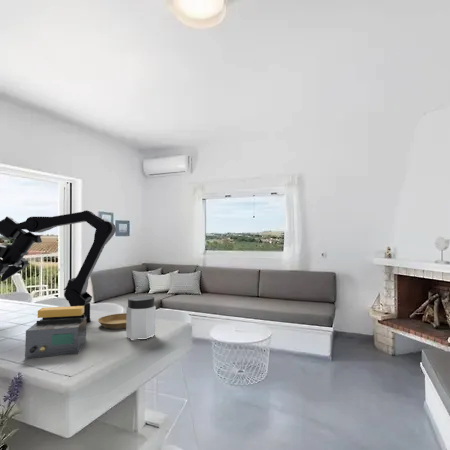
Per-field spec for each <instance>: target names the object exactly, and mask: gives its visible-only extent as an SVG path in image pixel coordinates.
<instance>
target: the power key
mask: <svg viewBox="0 0 450 450" xmlns="http://www.w3.org/2000/svg"><path fill="white" fill-rule="evenodd" d="M83 313H84V306H70V305H69V306H55V307H54V306H53V307H51V306H50V307H41V308H40V309H38V310H37V319H42V318H46V317H64V316H82V314H83Z"/></svg>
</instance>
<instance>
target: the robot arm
mask: <svg viewBox="0 0 450 450" xmlns="http://www.w3.org/2000/svg"><path fill="white" fill-rule="evenodd" d="M85 222H86V223H87V224H88V225H90V226H91V227H92V228H94V229H95V232H94V235H93V242H92V245H91V247H90V248H89V251H88V253H87V255H86V256H85V259H84V261H83V263H82V265H81V267H80V269H79V271H78V273H77V274H76V276H75V277H73V278H70V279H68V281H67V284H66V287H65V288H64V289H63V291H64V293H63V295H64V298H65V300H66V301H67V302H68V304H69V306H84V313H83V314H85V317H86V323H91V321H92V320H91V304H90V303H91V302H92V299H93V296H92V295H91V294H90V293H89V292H87V291H88V286H89V279H90V277H91V275H92V274H93V272H94V271H93V270H94V269H95V266H96V265H97V263H98V261H99V258H100V257H101V254H102V252H103V250H104V248H105V246H106V245H107V244H108V243H109V242H110V240H111V239H112V238H113V236H114V235H115V234H116V233H117V232H116V231H117V228H116V225H115V224H114V223H113V222H111V221H107V220H104V219H103V218H101V217H99V215H96V214H95V213H94V212H92V211H89V210H83V211H79V212H78V211H77V212H72V213H67V214H60V215H54V216H29V217H27V219H26V220H24V221H22V222H18V221H16V220H14V218H12V217H11V216H6V217H4V218H3V219H1V220H0V235H1V236H2V237H4V238H6V239H7V240H13V241H12V243H11V244H7V245H3V244H0V282H4V281H6V280H7V279H9V278H11V277H12V276H14V275H16V274H17V273H19V272H21V271H23V270H24V269H26V268H27V267H28V266H29V261H28V260H27V259H25V258H24V257H25V256H28V254H29V252H28V251H29V250H30V248H31V247H32V246H33V244H34V243H37V244H38V243H40V244H41V243H42V242H43V241H42V238H41V235H40V234H37V235H36V234H34V233H45V232H47V231H50V230H52V229H54V228H57V227H62V226H67V225H74V224H80V223H85Z"/></svg>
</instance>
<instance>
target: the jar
mask: <svg viewBox="0 0 450 450" xmlns="http://www.w3.org/2000/svg"><path fill="white" fill-rule="evenodd" d="M156 309H157V307H156V305H155V296H153V295H137V296H131V297H128V298H127V306H126V313H127V317H126V328H125V331H126V333H125V334H126V335H125V336H127V337H128V338H127V337H126V338H127V339H129V338H130V339H138V338H147V337H149V336H151V335H153V334H155V335H156V328H157V327H156V323H157V320H156V312H157V311H156ZM130 339H129V340H130Z"/></svg>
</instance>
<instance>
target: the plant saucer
mask: <svg viewBox="0 0 450 450" xmlns="http://www.w3.org/2000/svg"><path fill="white" fill-rule="evenodd" d="M126 317H127V312H124V313H122V312H121V313H114V314H108V315H107V314H106V315H104V316H102V317H100V318H98V319H97V322H98V323H99V324H100V325H101V326H102V327H104V328H105V329H109V330H118V329H119V330H121V329H126Z"/></svg>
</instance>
